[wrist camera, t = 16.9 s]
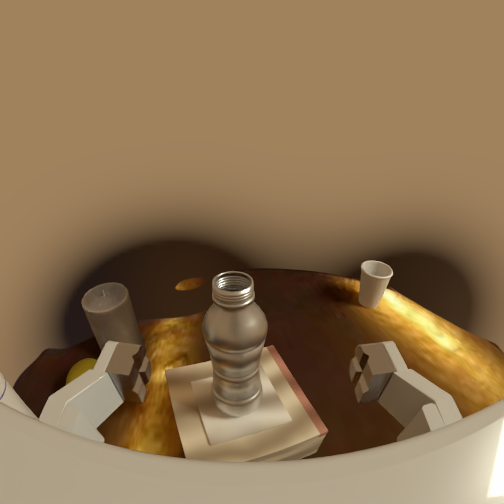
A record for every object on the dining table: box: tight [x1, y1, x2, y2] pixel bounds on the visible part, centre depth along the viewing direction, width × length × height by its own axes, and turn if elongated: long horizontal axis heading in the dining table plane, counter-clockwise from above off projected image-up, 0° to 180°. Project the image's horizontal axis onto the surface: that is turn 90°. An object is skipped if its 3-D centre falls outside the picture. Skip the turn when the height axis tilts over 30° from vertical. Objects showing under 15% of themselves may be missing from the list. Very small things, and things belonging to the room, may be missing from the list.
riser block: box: [165, 345, 328, 462], centre depth 36 cm, size 18×18×8 cm
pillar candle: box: [82, 283, 144, 351], centre depth 49 cm, size 10×10×15 cm
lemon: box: [66, 358, 97, 385], centre depth 39 cm, size 11×8×8 cm
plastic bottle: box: [202, 271, 268, 417], centre depth 30 cm, size 6×7×20 cm
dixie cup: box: [359, 261, 393, 308], centre depth 66 cm, size 8×8×10 cm
